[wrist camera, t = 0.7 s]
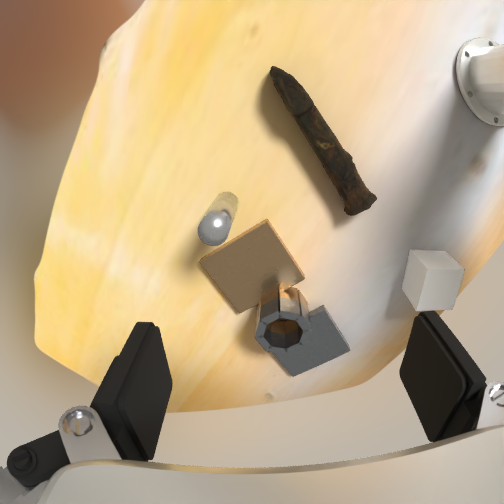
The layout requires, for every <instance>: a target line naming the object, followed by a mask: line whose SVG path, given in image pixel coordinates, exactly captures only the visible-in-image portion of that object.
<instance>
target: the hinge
mask: <svg viewBox="0 0 504 504" xmlns="http://www.w3.org/2000/svg"><path fill="white" fill-rule="evenodd" d="M200 263H201V265H202V266H203V267H204V269H205V270H206V271H207V272H208V274H209V275H210V276H211V278H212V279H213V280H214V281H215V283H216V284H217V285H218V286H219V288H220V289H221V290H222V292H223V293H224V294H225V295H226V297H227V298H228V299H229V300H230V302H231V303H232V304H233V305H234V307H235V308H236V309H237V310H238V312H239V313H242V312H244V311H245V310H247V309H249V308H251V307H253V306H255V305H257V304H258V307H257V314H256V327H255V339H256V340H257V341H258V342H259V343H260V345H261V346H262V347H263V348H264V349H265V351H266V350H268V352H272V353H273V354H274V355H275V357H276V358H277V359H278V360H279V361H280V363H281V364H282V365H283V366H284V367H285V368H286V370H287V371H288V372H289V373H290V374H291V376H292V377H294V376H296V375H298V374H301V373H303V372H305V371H307V370H310V369H312V368H314V367H317V366H319V365H321V364H323V363H325V362H327V361H330V360H332V359H334V358H336V357H338V356H340V355H342V354H344V353H346V352H349V351H350V348H349V345H348V343H347V342H346V340H345V339H344V337H343V335H342V334H341V332H340V331H339V329H338V327H337V326H336V324H335V323H334V321H333V319H332V318H331V316H330V315H329V313H328V311H327V310H326V308H325V307H324V305H322V306H321V307H319V308H317V309H315V310H313V311H311V312H309V309H308V304H307V301H306V300H305V298H304V297H303V295H302V294H301V292H300V291H299V290H297V288H292V287H291V286H293V285H295V284H297V283H299V282H300V281H302V280H304V279H305V277H304V274H303V272H302V271H301V269H300V268H299V266H298V265H297V263H296V262H295V260H294V258H293V257H292V255H291V254H290V252H289V251H288V249H287V248H286V246H285V245H284V243H283V242H282V240H281V239H280V237H279V236H278V234H277V233H276V231H275V230H274V228H273V227H272V225H271V224H270V222H269V221H268V219H265V220H264V221H262V222H260V223H259V224H257V225H255V226H254V227H252V228H250V229H249V230H247V231H245V232H244V233H242V234H241V235H239V236H237V237H236V238H234V239H232V240H231V241H229V242H227V243H226V244H224V245H222V246H221V247H219V248H218V249H216V250H214V251H213V252H211V253H209V254H208V255H206V256H205V257H203V258H201V261H200ZM279 318H285V319H288V320H286V321H280V320H277V319H279Z"/></svg>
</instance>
